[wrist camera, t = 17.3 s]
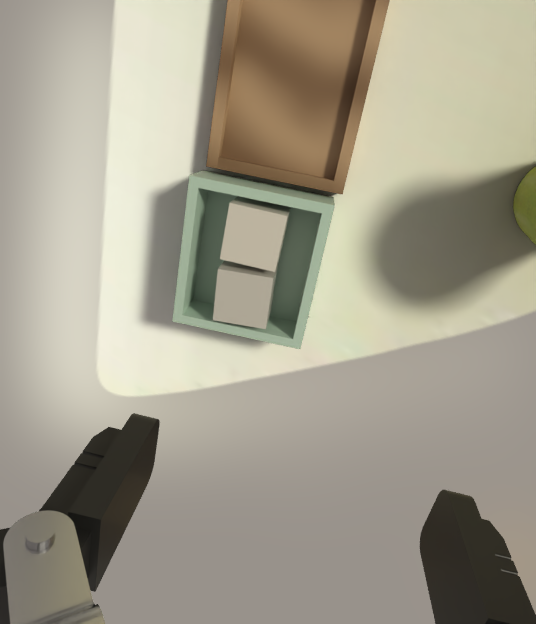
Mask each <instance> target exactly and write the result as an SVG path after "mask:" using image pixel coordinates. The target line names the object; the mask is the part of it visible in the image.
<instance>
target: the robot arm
mask: <svg viewBox="0 0 536 624" xmlns="http://www.w3.org/2000/svg"><path fill="white" fill-rule="evenodd" d="M158 431H159V420H158V419H155V418H151V417H147V416H142V415H138V414H132V415H131V416H130V418H129V419H128V421H127V422H126V424H125V425H124V427H123V428H122V430H119V429H115V428H111V427H108V428H107V429H105V430H103V431H102V432H100V433H99V434H97V435H96V436H94V437H93V438H92V439H91V441H90V442H89V444H88V445H87V446H86V448H85V449H84V450H83V453H82V454H80V456H79V457H78V459H77V460H76V461H75V464H74V465H73V466H72V467H71V468H70V470H69V471H68V472H67V474H66V475H65V477H64V478H63V479H62V481H61V482H60V484H59V485H58V486H57V488H56V489H55V490H54V492H53V493H52V494H51V496H50V497H49V499H48V500H47V501H46V503H45V504H44V505H43V507H42V508H41V509H40V510H39V512H35V513H32V514H29V515H27V516H25V517H23V518H21V519H20V520H18V521H17V522H16V523H15V524H14V525H13V526H12V527H10V528H6V529H1V530H0V624H105V621H104V618H103V614H102V611H101V609H100V607H99V605H98V604H97V605H95V604H94V602H93V599H92V595H91V591H96V589H97V587H98V585H99V583H100V581H101V579H102V577H103V575H104V573H105V571H106V569H107V566H108V564H109V562H110V560H111V558H112V556H113V554H114V552H115V550H116V548H117V546H118V544H119V542H120V540H121V538H122V536H123V534H124V532H125V530H126V527H127V525H128V523H129V521H130V519H131V517H132V515H133V513H134V511H135V509H136V507H137V505H138V503H139V501H140V499H141V497H142V494H143V492H144V490H145V488H146V486H147V484H148V482H149V479H150V476H151V473H152V470H153V466H154V461H155V454H156V445H157V439H158ZM420 553H421V558H422V562H423V567H424V572H425V577H426V581H427V586H428V591H429V595H430V600H431V604H432V609H433V614H434V618H435V623H436V624H536V615H535V613H534V610H533V608H532V605H531V603H530V601H529V598H528V596H527V593H526V591H525V589H524V586H523V584H522V581H521V579H520V577H519V576H518V575H517V573H518V572H517V570H516V567H515V565H514V562H513V561H511V555H510V553H509V551H508V548H507V546H506V543H505V541H504V539H503V537H502V536H501V535H500V534H499V532H498V531H497V530H496V529H495V527H494V526H493V525H492V524H491V522H490V521H488V520H484V519H481V517H480V514H479V511H478V509H477V506H476V503H475V501H474V499H473V498H472V497H471V496H468V495H464V494H460V493H456V492H451V491H447V490H442V491H441V492H440V493H439V494H438V497H437V499H436V501H435V503H434V505H433V507H432V509H431V512H430V514H429V516H428V518H427V520H426V522H425V524H424V526H423V529H422V532H421V537H420ZM90 590H91V591H90Z"/></svg>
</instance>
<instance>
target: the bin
mask: <svg viewBox="0 0 536 624" xmlns="http://www.w3.org/2000/svg"><path fill="white" fill-rule="evenodd" d="M237 196H240V197H245V198H250V199H255V200H259V201H264V202H269V203H274V204H279V205H283V206H288V207H291V210H290V215H289V219H288V224H287V228H286V233H285V237H284V241H283V246H282V250H281V255H280V259H279V262H278V269H277V276H276V282H275V289H274V295H273V302H272V309H271V313H270V316H269V320H268V323H267V327H266V329H261V328H255V327H250V326H244V325H238V324H232V323H226V322H221V321H215V320H213V313H214V303H215V293H216V283H217V273H218V268H219V267H220V265H221V264H222V263H223V261H224V260H222V259H220V255H221V249H222V243H223V238H224V232H225V226H226V220H227V215H228V209H229V203H230V202H231V201H232V200H234V199H235V198H236V197H237ZM334 206H335V204H334V198H333V197H330V196H326V195H321V194H316V193H311V192H306V191H301V190H297V189H292V188H287V187H282V186H277V185H272V184H268V183H263V182H258V181H253V180H248V179H243V178H238V177H234V176H229V175H224V174H219V173H214V172H209V171H205V170H203V171H200V172H197V173H194V174H192V175H189V183H188V192H187V201H186V209H185V218H184V226H183V235H182V243H181V252H180V260H179V269H178V277H177V286H176V295H175V303H174V312H173V320H172V322H177V323H181V324H186V325H191V326H195V327H200V328H204V329H209V330H214V331H218V332H223V333H227V334H232V335H237V336H241V337H246V338H250V339H255V340H260V341H264V342H269V343H273V344H278V345H283V346H287V347H292V348H296V349H300V348H301V344H302V340H303V336H304V331H305V327H306V323H307V319H308V315H309V311H310V306H311V302H312V298H313V294H314V290H315V285H316V281H317V277H318V273H319V269H320V265H321V260H322V256H323V252H324V248H325V244H326V239H327V235H328V231H329V227H330V223H331V218H332V214H333V210H334Z"/></svg>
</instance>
